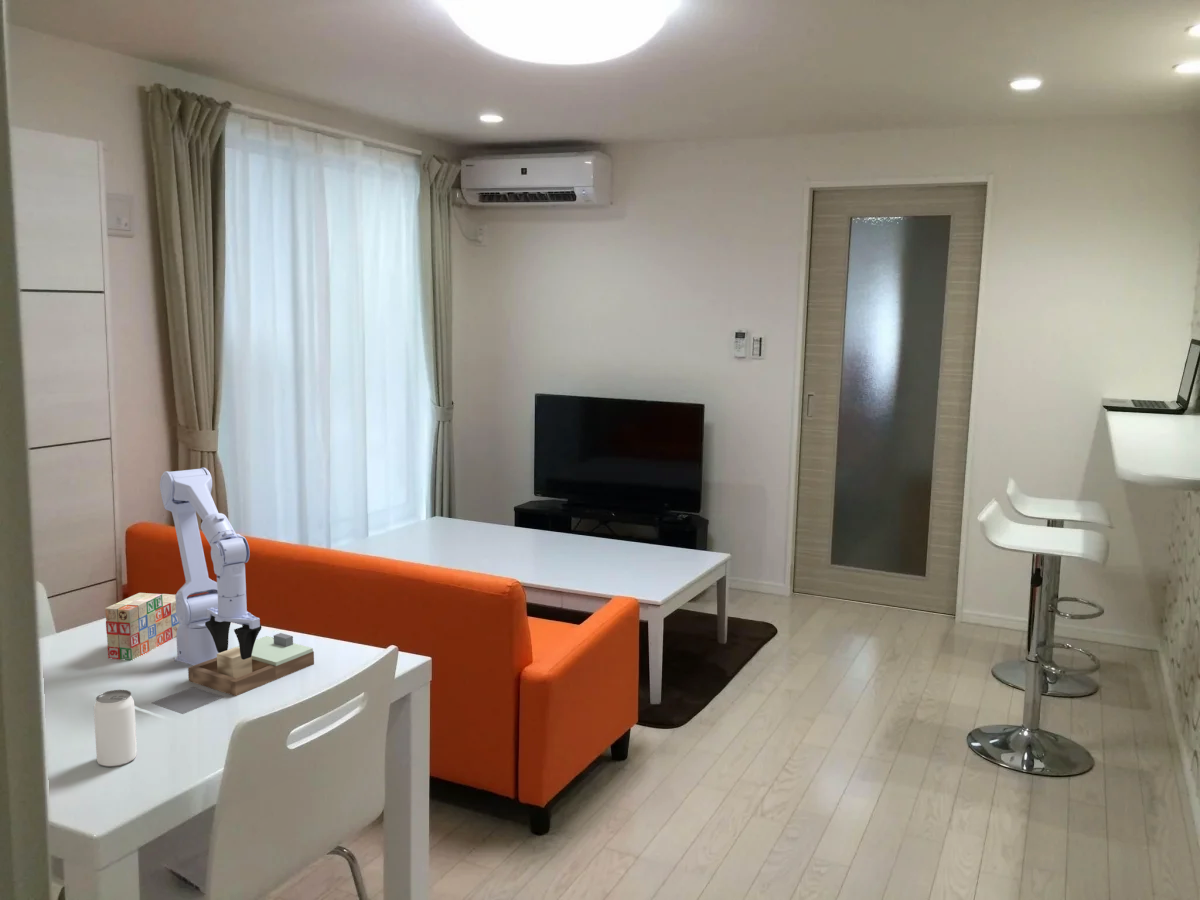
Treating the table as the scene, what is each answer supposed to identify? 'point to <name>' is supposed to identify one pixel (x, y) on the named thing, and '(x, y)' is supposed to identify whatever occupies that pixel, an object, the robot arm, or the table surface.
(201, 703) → the mat
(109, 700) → the can
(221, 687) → the brown wooden shallow box
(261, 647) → the lid
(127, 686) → the table surface
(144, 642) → the stack of blocks
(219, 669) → the block
